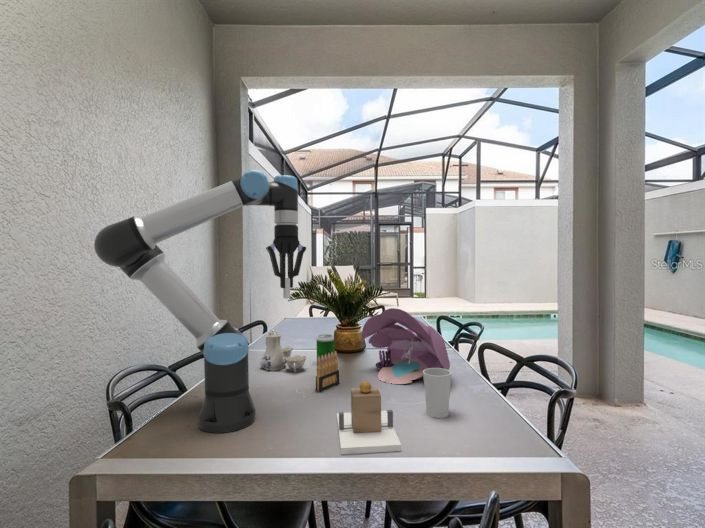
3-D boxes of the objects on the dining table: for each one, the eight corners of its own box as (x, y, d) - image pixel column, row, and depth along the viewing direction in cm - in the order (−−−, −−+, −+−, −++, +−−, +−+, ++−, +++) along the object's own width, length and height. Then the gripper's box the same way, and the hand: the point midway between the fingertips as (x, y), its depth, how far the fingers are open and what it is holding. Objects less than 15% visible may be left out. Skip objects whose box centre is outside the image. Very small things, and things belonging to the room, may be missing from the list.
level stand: (336, 418, 109) (336, 399, 109) (386, 416, 111) (386, 396, 111) (341, 454, 90) (340, 430, 89) (401, 451, 91) (400, 427, 91)
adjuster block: (351, 422, 103) (350, 378, 103) (377, 421, 103) (377, 377, 103) (353, 432, 97) (352, 385, 97) (381, 431, 97) (380, 384, 97)
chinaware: (313, 376, 154) (316, 333, 155) (272, 379, 145) (276, 334, 146) (285, 360, 178) (288, 323, 179) (249, 362, 169) (252, 323, 170)
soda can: (338, 364, 164) (337, 336, 164) (322, 367, 160) (322, 338, 159) (328, 360, 170) (328, 333, 170) (313, 363, 166) (313, 335, 166)
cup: (434, 421, 107) (433, 377, 107) (417, 410, 114) (417, 370, 114) (457, 416, 110) (457, 373, 110) (440, 406, 117) (440, 366, 117)
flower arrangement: (355, 390, 146) (340, 319, 142) (379, 362, 167) (367, 299, 162) (448, 396, 129) (434, 315, 125) (462, 364, 150) (450, 294, 146)
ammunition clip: (319, 392, 130) (319, 357, 130) (315, 391, 132) (314, 356, 131) (339, 384, 139) (339, 350, 139) (335, 383, 140) (335, 349, 140)
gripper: (302, 226, 131) (302, 296, 132) (263, 225, 126) (263, 298, 126) (309, 224, 125) (309, 298, 125) (268, 223, 119) (269, 300, 119)
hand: (286, 298), depth 126 cm, fingers closed
